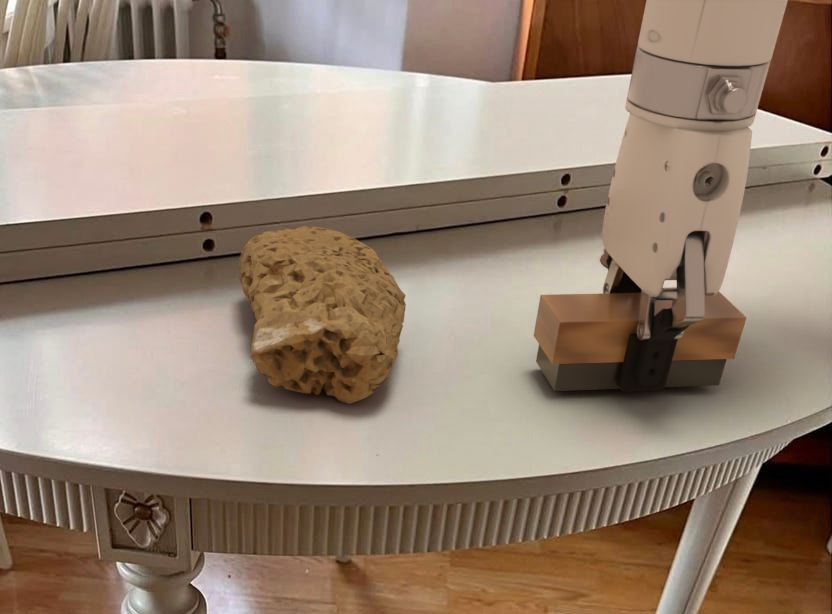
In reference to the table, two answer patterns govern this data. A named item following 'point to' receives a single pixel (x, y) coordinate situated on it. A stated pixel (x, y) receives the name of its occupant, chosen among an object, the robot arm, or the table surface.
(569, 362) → the brush
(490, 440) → the table surface
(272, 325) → the sponge
